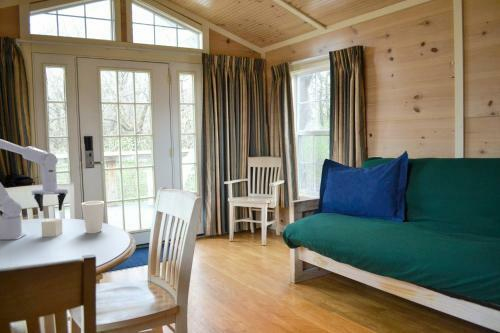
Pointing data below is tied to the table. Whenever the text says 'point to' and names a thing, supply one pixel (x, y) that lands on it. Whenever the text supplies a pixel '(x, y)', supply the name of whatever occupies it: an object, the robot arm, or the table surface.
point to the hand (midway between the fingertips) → (51, 210)
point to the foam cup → (93, 215)
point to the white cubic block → (51, 227)
